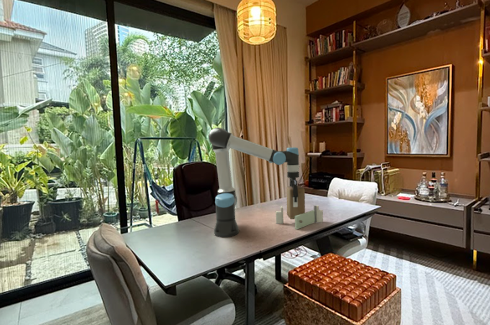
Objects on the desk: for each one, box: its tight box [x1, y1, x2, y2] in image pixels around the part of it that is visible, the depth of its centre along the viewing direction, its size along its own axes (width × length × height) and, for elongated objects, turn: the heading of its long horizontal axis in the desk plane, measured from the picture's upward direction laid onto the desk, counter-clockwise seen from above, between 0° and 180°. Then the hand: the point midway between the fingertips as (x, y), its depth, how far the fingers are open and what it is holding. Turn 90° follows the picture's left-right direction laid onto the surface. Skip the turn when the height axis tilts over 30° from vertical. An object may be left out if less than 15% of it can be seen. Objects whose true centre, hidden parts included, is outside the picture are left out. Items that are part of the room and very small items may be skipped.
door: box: [294, 209, 316, 230], centre depth 168 cm, size 19×3×8 cm, turn 131°
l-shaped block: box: [275, 205, 324, 225], centre depth 176 cm, size 31×2×11 cm, turn 89°
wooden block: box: [286, 185, 306, 220], centre depth 173 cm, size 10×10×20 cm
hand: (293, 204), depth 173 cm, fingers open, 11 cm apart
